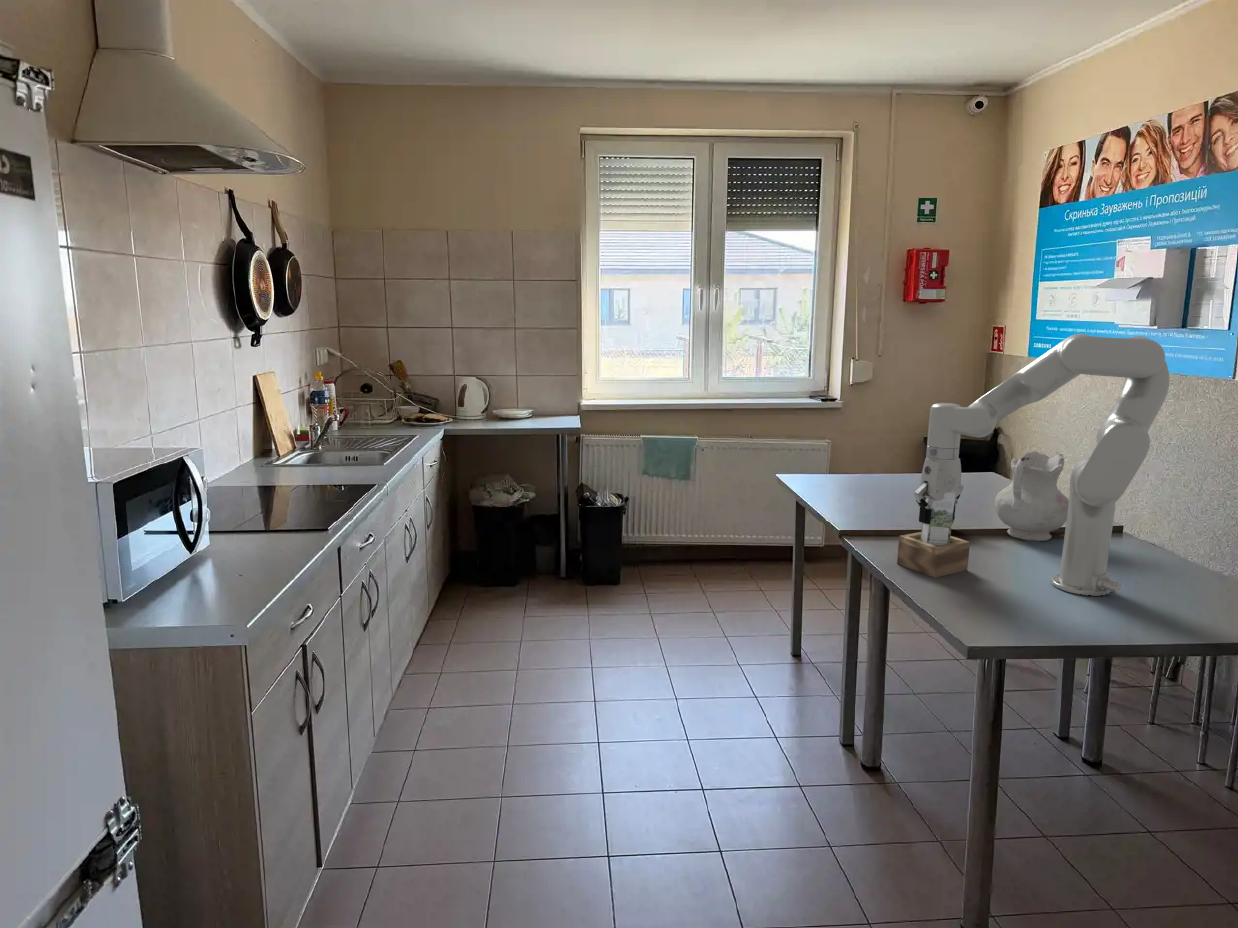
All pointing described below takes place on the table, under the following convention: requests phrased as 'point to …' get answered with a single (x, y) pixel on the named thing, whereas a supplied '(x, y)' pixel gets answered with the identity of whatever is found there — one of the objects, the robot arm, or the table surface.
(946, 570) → the wooden box
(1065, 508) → the ceramic pitcher
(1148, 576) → the table surface
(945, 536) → the syrup box
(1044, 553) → the table surface
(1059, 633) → the table surface
